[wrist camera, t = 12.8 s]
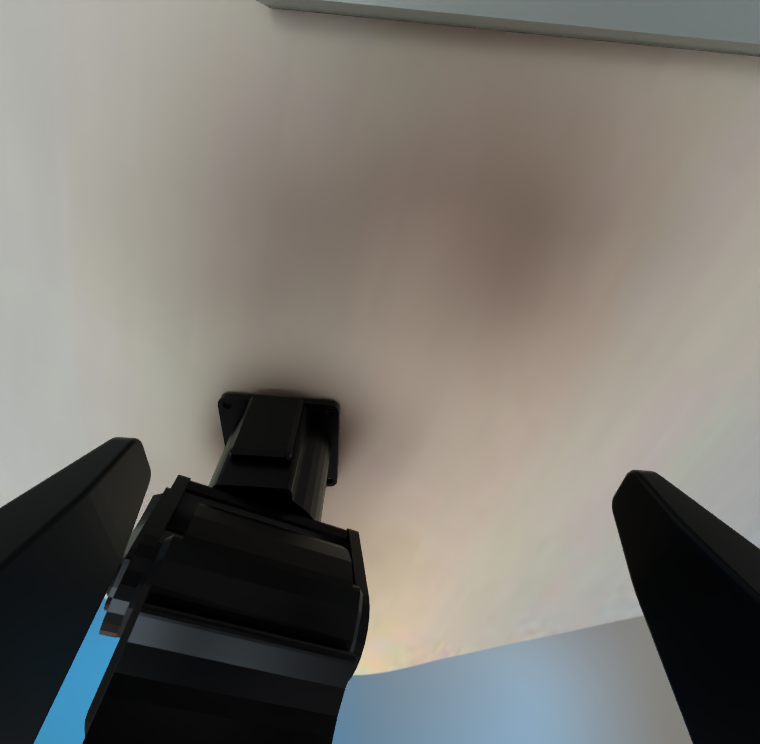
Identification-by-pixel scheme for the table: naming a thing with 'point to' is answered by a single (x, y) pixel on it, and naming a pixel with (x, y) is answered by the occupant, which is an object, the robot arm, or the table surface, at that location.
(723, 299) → the table surface
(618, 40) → the caddy
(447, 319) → the table surface
